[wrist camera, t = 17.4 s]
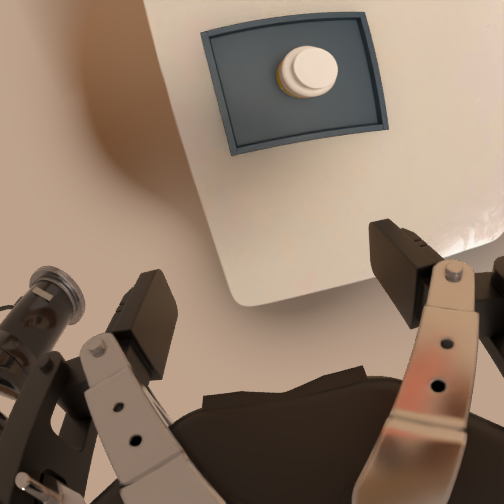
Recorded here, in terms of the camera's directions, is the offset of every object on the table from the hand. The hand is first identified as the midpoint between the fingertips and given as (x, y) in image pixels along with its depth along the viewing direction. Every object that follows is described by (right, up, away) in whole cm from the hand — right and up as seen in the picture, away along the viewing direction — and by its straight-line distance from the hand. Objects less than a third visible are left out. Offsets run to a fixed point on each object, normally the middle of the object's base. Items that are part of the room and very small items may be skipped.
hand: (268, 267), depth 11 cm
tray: (+5, +21, +20) cm, 29 cm away
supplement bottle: (+5, +21, +20) cm, 29 cm away
